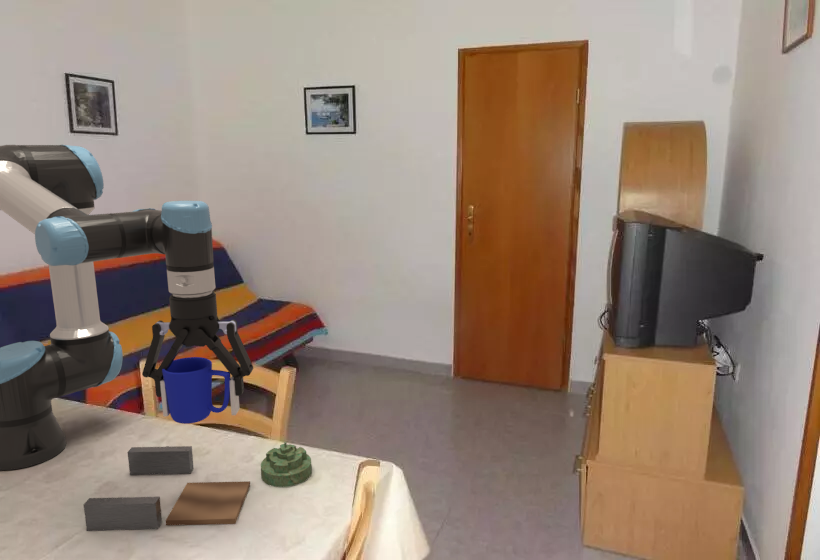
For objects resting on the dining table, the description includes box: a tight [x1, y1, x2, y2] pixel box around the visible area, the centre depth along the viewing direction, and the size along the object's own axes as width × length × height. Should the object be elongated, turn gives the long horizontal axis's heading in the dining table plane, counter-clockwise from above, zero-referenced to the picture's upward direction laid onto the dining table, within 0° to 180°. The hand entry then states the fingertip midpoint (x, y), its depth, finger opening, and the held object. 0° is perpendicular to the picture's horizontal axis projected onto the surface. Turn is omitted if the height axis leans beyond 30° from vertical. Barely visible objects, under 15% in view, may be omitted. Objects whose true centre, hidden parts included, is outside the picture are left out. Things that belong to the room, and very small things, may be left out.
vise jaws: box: [83, 445, 194, 532], centre depth 113 cm, size 23×12×5 cm, turn 3°
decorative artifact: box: [260, 441, 313, 488], centre depth 120 cm, size 10×7×10 cm
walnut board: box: [165, 480, 251, 526], centre depth 110 cm, size 12×12×1 cm
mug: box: [162, 356, 232, 425], centre depth 105 cm, size 8×12×10 cm
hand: (201, 412), depth 106 cm, fingers closed on mug, 11 cm apart
